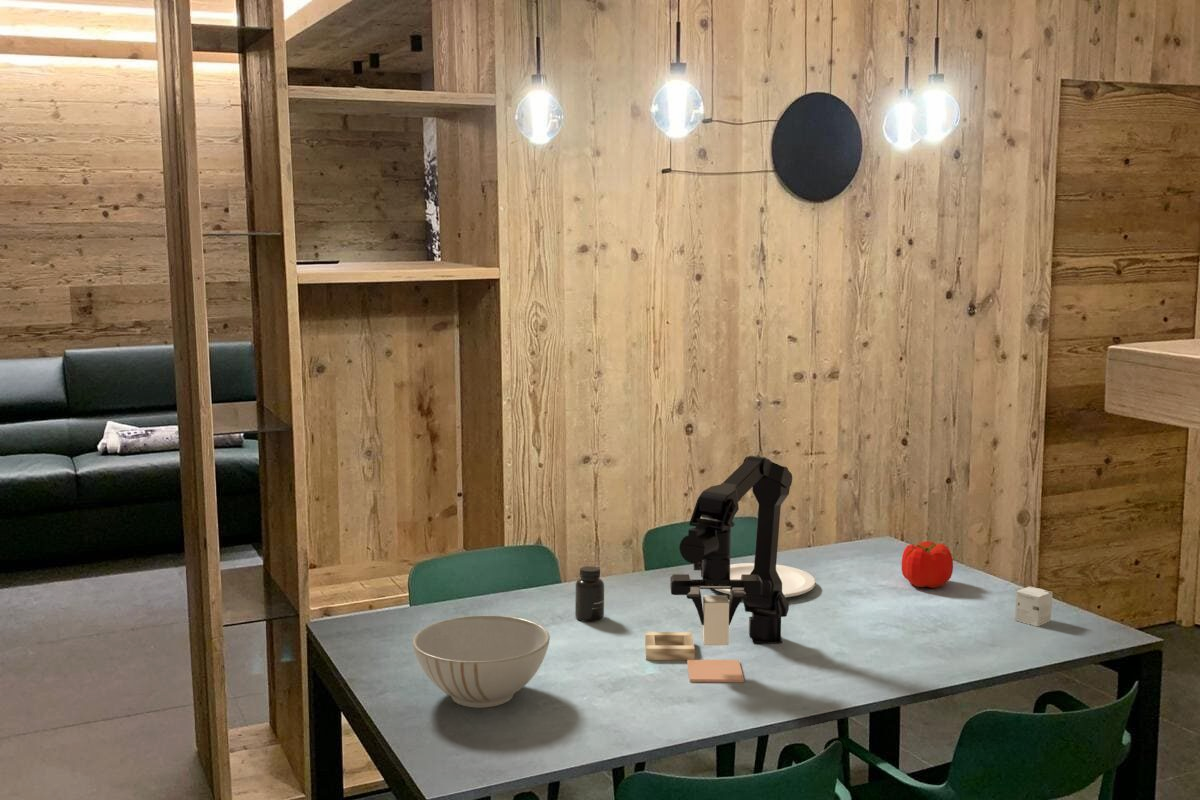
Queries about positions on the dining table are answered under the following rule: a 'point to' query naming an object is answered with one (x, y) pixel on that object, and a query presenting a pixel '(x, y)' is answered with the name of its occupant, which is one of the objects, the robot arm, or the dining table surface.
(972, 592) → the dining table surface
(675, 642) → the birch pocket holder
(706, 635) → the cream block
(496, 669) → the decorative bowl
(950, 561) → the tomato
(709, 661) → the terracotta coaster
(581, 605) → the supplement bottle
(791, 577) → the plate
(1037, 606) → the skincare box
